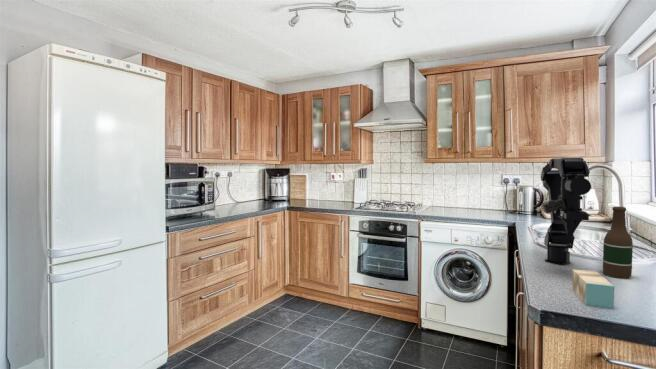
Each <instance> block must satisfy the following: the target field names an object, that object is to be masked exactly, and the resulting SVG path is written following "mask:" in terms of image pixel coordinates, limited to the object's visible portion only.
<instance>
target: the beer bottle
mask: <svg viewBox="0 0 656 369" xmlns="http://www.w3.org/2000/svg"><path fill="white" fill-rule="evenodd" d="M611 210H612V211H613V212H612V219H611V226H610V230H608V232H607V233H606V234H605V236H604V238H603V248H602V249H603V251H602V252H603V253H602V273H603V275H605V276H607V277H610V278H616V279H625V280H627V279H630V278H631V277H632V273H633V253H634V252H633V251H634V250H633V249H634V245H633V244H634V242H633V238H632V235H631V234H630V232H628V230H627V226H626V225H627V224H626V223H627V222H626V211H627V208H626V207H624V206H612V209H611Z"/></svg>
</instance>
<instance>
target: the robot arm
mask: <svg viewBox="0 0 656 369" xmlns="http://www.w3.org/2000/svg"><path fill="white" fill-rule="evenodd" d="M554 169H555V170H554ZM590 173H591V172H590V169H589V166H588V164H587V162H586V160H584V158H583V157H561V158H559V157H558V158H557V157H556V158H550V159H549V161H548V163H547V164H546V165H545V166H543V167H542V169H541V172H540V181H541V182H542V186H543V188H544V189H546V191H547V192H548V193H547V195H548V201H546V202H543V203H541V207H542V209H543V212H544V213H545V214H550V221H551V223H550V225H549V227H548V228H547V231H546V232H545V233H546V234H545V236H544V239H543V240H544V241H543V243H544V246H545V247H547V252H546V253H547V254H546V255H547V257H546V258H547V259H544V262H549V263H552V264H557V265H562V266H563V265H566V264H570V263H571V261H570V259H571V258H570V257H571V252H570V251H569V249H573V248H574V242H575V238H576V236H574V233H575V232H576V230H577V228H578V227H579V225H581V222H582V221H589V220H590V218H589V217H590V214H589V213H588V212H587V211H584V210H583V208H582V207H581V201H582V200H583V196H584V195H587V194H588V193H589V192H590V191H591V189H592V184H591V182H590V180H588V178H589V177H590ZM586 178H587V179H586Z"/></svg>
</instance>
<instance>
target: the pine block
mask: <svg viewBox="0 0 656 369" xmlns="http://www.w3.org/2000/svg"><path fill="white" fill-rule="evenodd" d="M571 272H572V273H571V274H572V275H571V276H572V277H571V289H572V290H573V291H574V292H575V294H576V295H577V296H578V297H579V299H580V300H581V301H582V302H583V303H584V304H585V306H590V307H600V308H606V309H614V305H615V286H614V285H613V284H612V283H611V282H610V281H608V280H607V279H606V278H605V277H604V276H602V275H601V274H600V273H599V272H597V271H595V270H583V269H572V271H571Z"/></svg>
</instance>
